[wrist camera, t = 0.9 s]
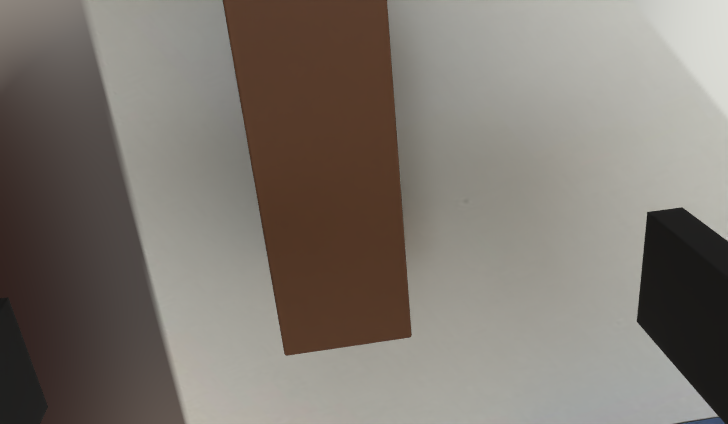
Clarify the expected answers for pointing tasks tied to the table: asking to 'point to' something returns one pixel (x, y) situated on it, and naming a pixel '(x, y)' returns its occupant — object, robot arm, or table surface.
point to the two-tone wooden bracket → (324, 166)
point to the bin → (707, 421)
